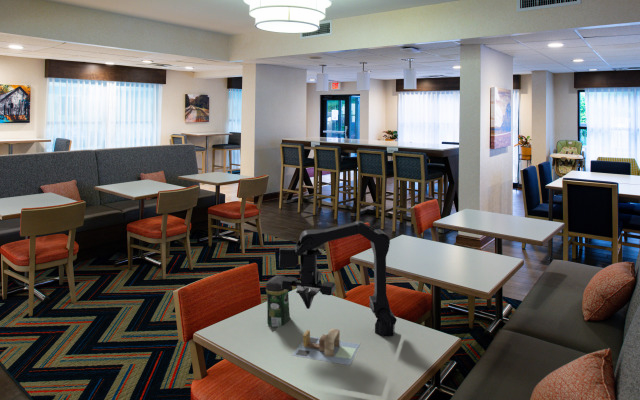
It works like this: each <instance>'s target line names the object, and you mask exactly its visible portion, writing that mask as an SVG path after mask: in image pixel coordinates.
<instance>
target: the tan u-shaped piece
mask: <svg viewBox="0 0 640 400" xmlns="http://www.w3.org/2000/svg"><path fill="white" fill-rule="evenodd" d="M326 336H327V334H322V335H321V336H320V337H319V338H320V339H319V344H317V343H310V337H311V330H309V329H307V330H305V332H304V333H303V334H302V341H303V346H304V347H309V348H315V349H319V351H324V352H325V344H324V339H325V337H326Z"/></svg>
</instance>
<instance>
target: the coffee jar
mask: <svg viewBox="0 0 640 400" xmlns="http://www.w3.org/2000/svg"><path fill="white" fill-rule="evenodd" d="M286 278H287V276H285V275H275V276H273V277H271V278H270V279H268V280H267V281H266V283H265V292H266V305H267V306H266V307H267V308H266V309H267V310H266V311H267V316H266V317H267V318H266V319H267V323H266V324H267V325H268V326H270V327H271V328H276V329H278V328H279V326H280V327H281V326H284V325H286V324H287V323H288V322H289V320H290V319H291V317H290V316H291V314H290V301H289V299H290V298H289V290H286V289H282V288H281V283H282V281H283V280H285V279H286Z"/></svg>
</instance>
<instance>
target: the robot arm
mask: <svg viewBox="0 0 640 400" xmlns="http://www.w3.org/2000/svg"><path fill="white" fill-rule="evenodd" d="M356 235H361V236H362V237H364V238H365V239H367V240H368V241H370V242H369V243H370V247H371V249H372V253H373V271H374V272H373V273H374V274H373V278H374V283H373V284H374V292H373V295H369V304H368V306H369V308H370V310H371V312H372V313H373V314H374V316H375V318H376V321H375V323H374V333H375V334H377V335H379V336H382V337H386V338H387V337H394V335H395V333H396V332H395V331H396V329H395V328H396V322H397V318H396V316H395V314H394V313H393V311H392V310H391V307H390V302H389V298H388V296H387V295H388V294H387V256H388V252H389V251H390V245H391V239H390V236H388V234H386V233H385V232H384V230H383V229H379V228H378V229H375V228H374V227H372V226H370V225H368V224H367V223H365V222H363V221H362V220H356V221H354V222H349V223H346V224H343V225H342V224H341V225H338V226H334V227H330V228H326V229H317V228H316V229H315V228H314V229H306V230H303V231H301V233H300V235H299V240H298V241H297V243H296V244H295V245H294V248H292V247H291V248H289V247H288V248H284V247H280V248H279V256H278V262H279V263H278V267H279V269H286V268H287V269H289V268H296V267H298V265H299V268H300V269H299V270H298V274H299V275H300V277H299V278H300V279H299V280H298V278H297V277H294V276H286V279H285V280H283V281H282V283H281V288H282V289H286V290H288V291H290V289H291V288H292V287H296V289H297V290H296V291H295V293H296V294H298V295H299V296H300V298H301V300H302V302H303V303H304V306H305V307H306V309H308V310H310V308H311V306H312V302H313V300H314V297H315V296H317V294H319V293H320V294H321V295H323V296H324V295H325V296H332V295H333V294H334V292H335V291H337V290H336V289H337V287H336V286H337V285H336V283H335V282H333V281H327V280H326V281H324V282H323V283H319V282H320V281H321V280H322V276H323V274H322V273H323V271H320V270H318V267H317V262H318V261H317V256H322V255H323V252H322V250H321V249H320V248H319V247H322V246H323V245H324V244H326V243H328V242H332V241H335V240H340V239H344V238H348V237H352V236H356ZM299 263H300V264H299Z"/></svg>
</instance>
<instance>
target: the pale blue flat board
mask: <svg viewBox="0 0 640 400" xmlns="http://www.w3.org/2000/svg"><path fill="white" fill-rule="evenodd" d="M320 338H321V337H315V336H310V343H317V344H319V339H320ZM360 344H361V343H356V342H348V341H341V340H340V346H339V347H336V346H334V356H333V357H331V356H325V352H324V351H319V349H315V348H309V347H304V346H303V340H302V341H301V342H300V344H299V345H298V347H297V348H296V349H295V351H294V352H293V353H292V356H294V357H300V358H306V359H310V360H311V359H312V360H318V361H324V362H329V363H336V364H341V365H347V366H350V365H351V363H352V361H353V359H354V358H355V355H356V353H357V352H358V349H359V347H360Z"/></svg>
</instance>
